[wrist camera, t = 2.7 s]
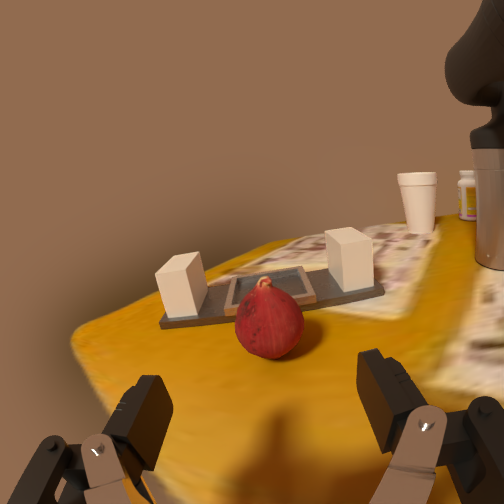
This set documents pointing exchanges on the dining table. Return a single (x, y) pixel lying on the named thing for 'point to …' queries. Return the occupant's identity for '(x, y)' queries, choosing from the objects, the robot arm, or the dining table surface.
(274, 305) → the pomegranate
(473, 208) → the supplement bottle
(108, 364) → the dining table surface
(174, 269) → the mounted modules
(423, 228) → the foam cup
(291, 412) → the dining table surface
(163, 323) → the mounting plate
